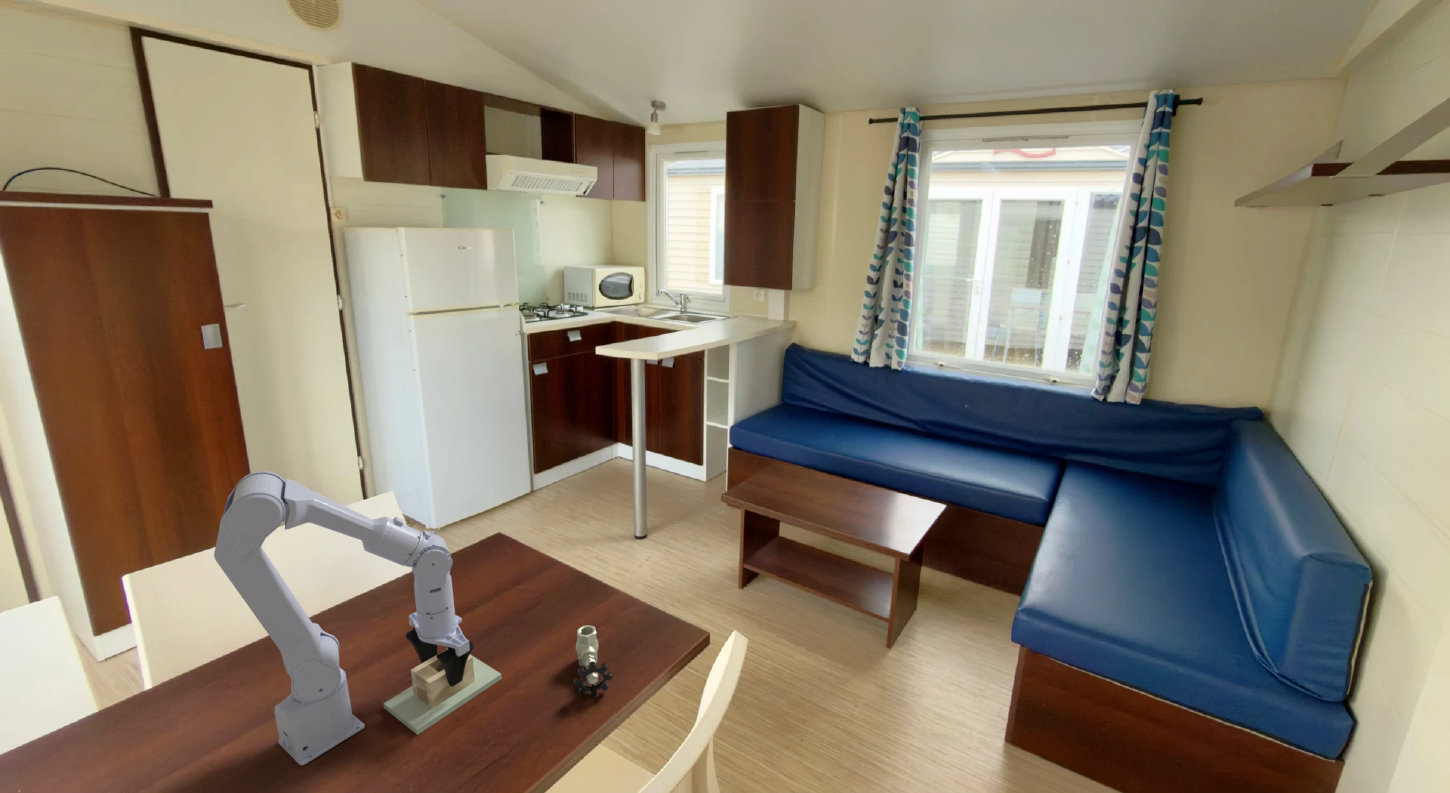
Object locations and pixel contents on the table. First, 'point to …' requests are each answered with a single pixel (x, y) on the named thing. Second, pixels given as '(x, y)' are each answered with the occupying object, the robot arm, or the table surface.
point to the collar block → (438, 681)
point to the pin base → (424, 716)
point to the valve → (589, 662)
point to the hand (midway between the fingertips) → (442, 673)
